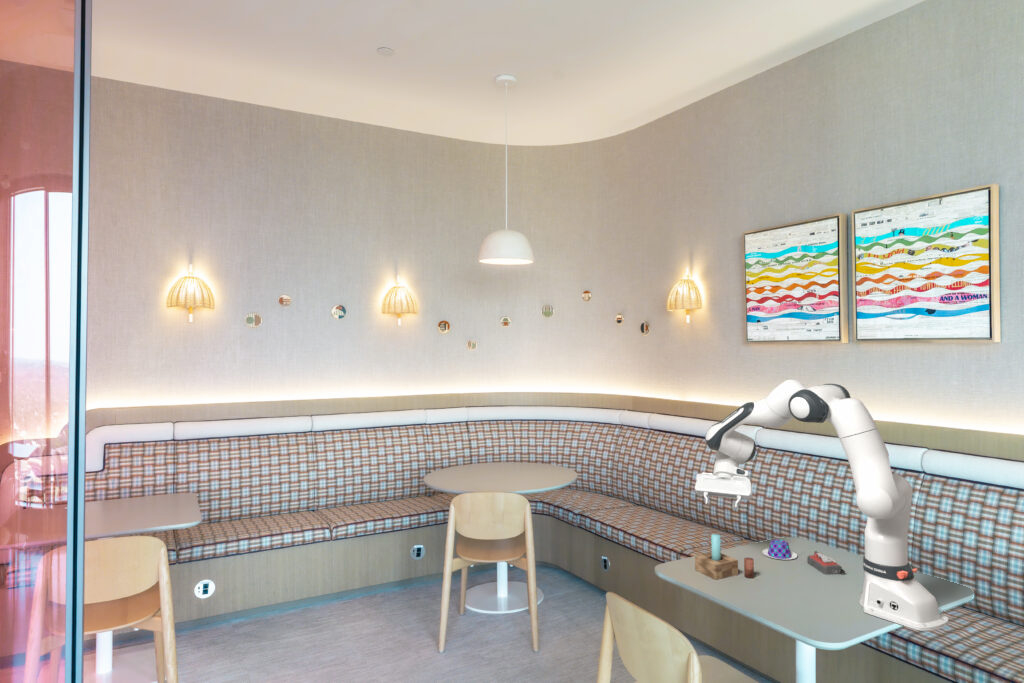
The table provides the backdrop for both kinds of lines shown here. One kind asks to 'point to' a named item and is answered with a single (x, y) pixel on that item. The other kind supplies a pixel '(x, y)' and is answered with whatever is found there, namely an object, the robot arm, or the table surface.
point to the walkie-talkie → (824, 564)
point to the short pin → (749, 567)
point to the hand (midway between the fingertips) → (721, 506)
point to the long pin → (716, 547)
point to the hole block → (716, 566)
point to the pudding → (779, 550)
